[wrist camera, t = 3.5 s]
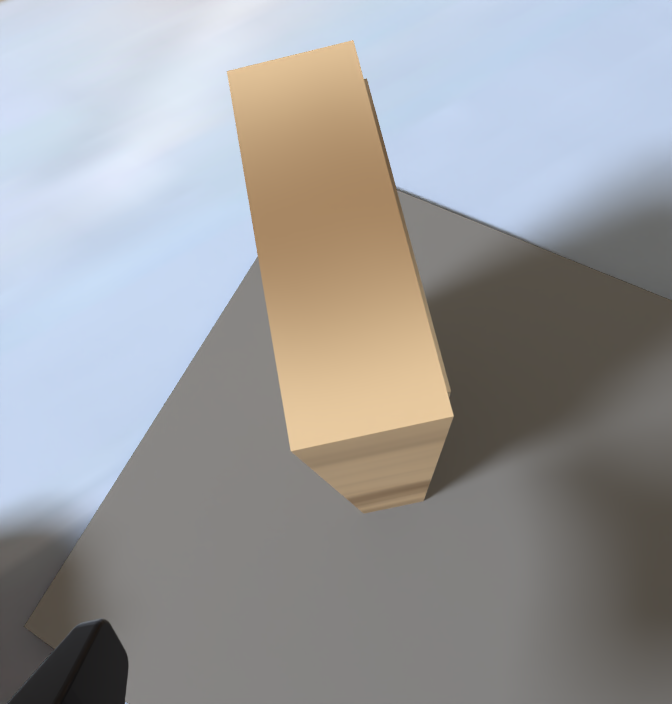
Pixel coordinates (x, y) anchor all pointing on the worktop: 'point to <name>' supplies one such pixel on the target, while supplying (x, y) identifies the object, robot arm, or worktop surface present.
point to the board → (340, 279)
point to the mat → (407, 511)
